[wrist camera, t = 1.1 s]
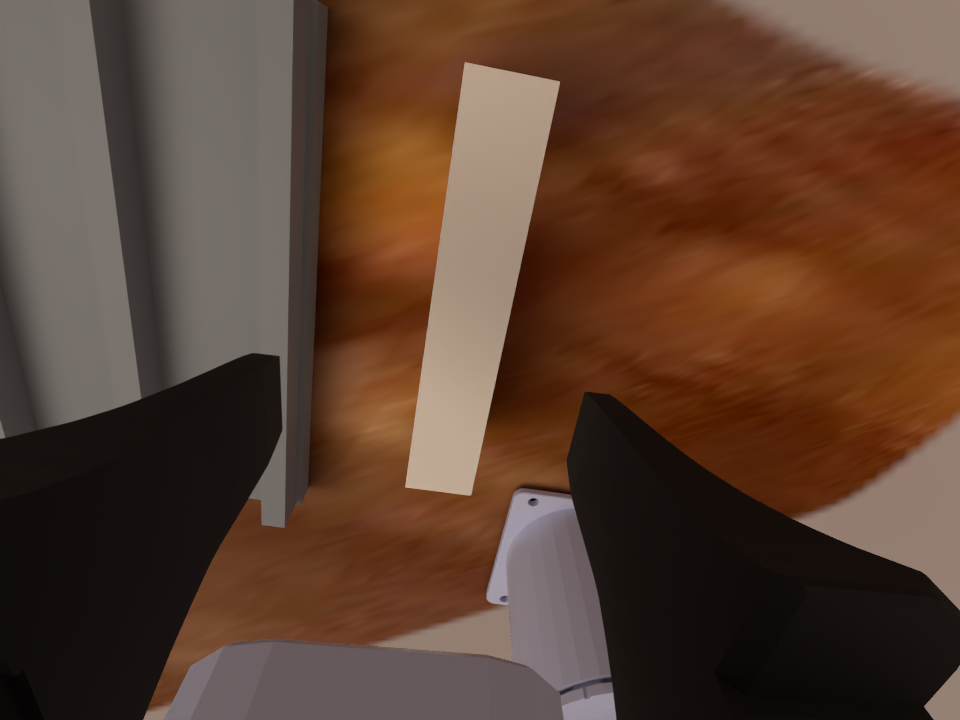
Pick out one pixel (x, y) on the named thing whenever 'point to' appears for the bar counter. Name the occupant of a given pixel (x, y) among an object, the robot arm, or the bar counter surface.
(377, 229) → the bar counter surface
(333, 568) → the bar counter surface
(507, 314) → the clay strip
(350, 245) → the bar counter surface
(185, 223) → the drying rack
